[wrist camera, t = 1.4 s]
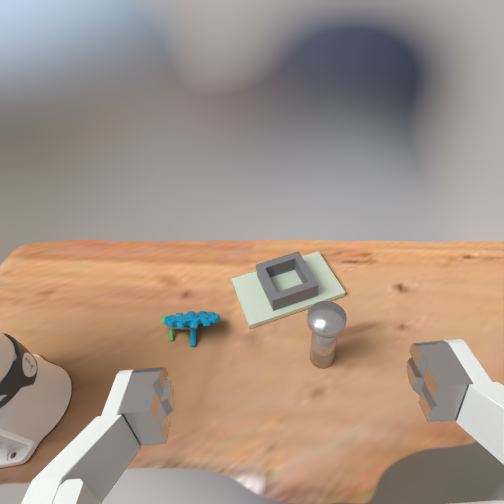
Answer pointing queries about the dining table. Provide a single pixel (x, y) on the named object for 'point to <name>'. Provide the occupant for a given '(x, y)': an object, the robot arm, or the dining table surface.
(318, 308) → the pin
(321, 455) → the dining table surface
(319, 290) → the socket board
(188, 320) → the gear
